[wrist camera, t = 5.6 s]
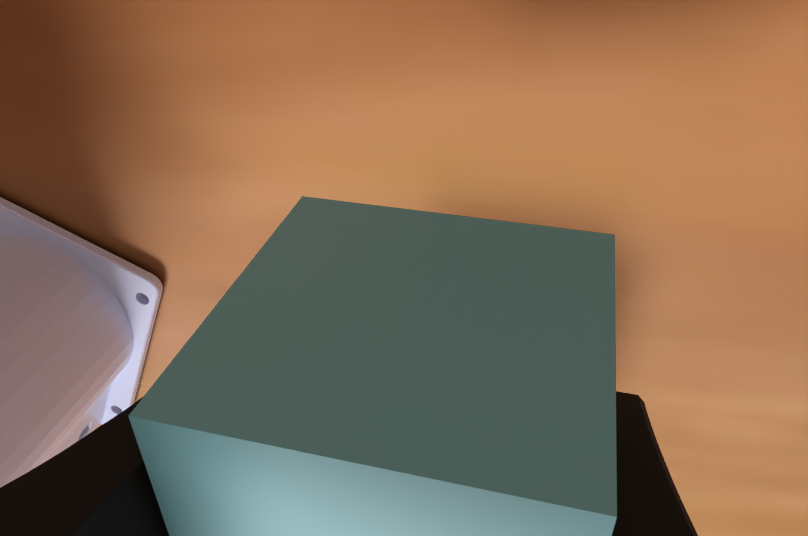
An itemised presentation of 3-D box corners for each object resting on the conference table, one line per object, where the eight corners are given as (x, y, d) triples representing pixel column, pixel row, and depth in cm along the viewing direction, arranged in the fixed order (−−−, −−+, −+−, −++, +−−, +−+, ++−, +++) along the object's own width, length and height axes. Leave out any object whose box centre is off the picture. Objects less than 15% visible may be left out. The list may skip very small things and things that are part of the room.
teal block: (568, 455, 13) (550, 747, 9) (324, 408, 14) (209, 650, 10) (614, 234, 10) (616, 516, 6) (302, 196, 11) (127, 415, 7)
